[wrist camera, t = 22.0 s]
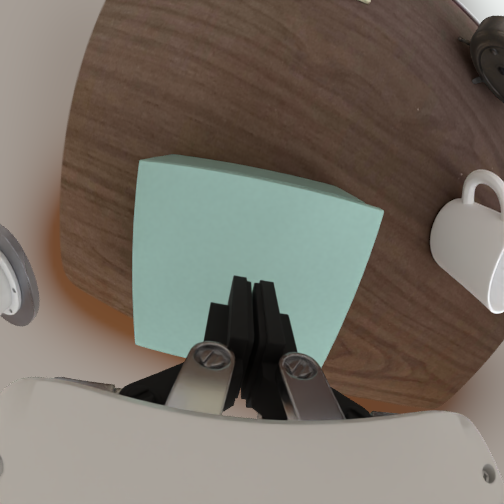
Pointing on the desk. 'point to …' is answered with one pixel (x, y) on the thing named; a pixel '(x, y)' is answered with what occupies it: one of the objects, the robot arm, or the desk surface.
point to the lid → (242, 253)
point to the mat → (365, 1)
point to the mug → (473, 241)
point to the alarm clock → (489, 54)
